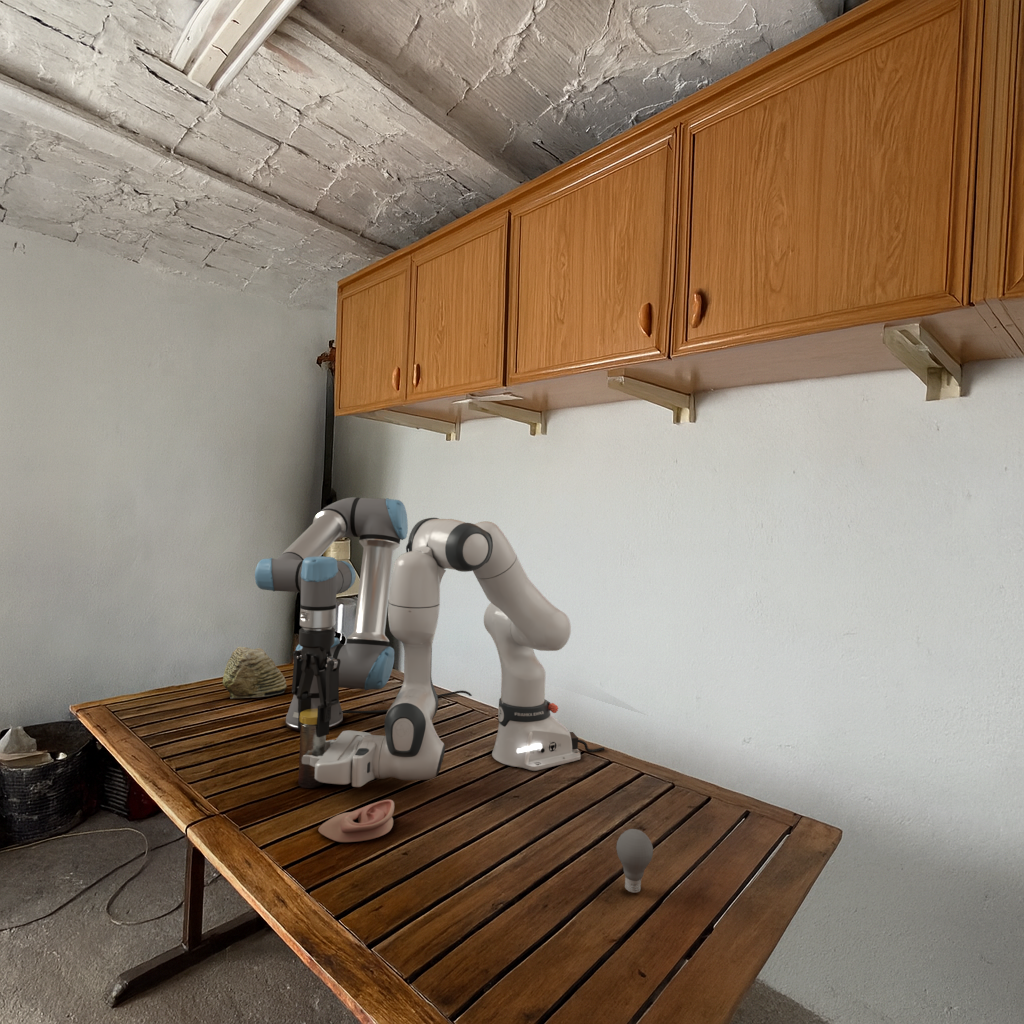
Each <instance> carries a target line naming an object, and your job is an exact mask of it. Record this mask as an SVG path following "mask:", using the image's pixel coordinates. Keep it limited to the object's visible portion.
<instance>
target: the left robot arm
mask: <svg viewBox="0 0 1024 1024" xmlns="http://www.w3.org/2000/svg"><path fill="white" fill-rule="evenodd" d="M312 520H313V521H312V524H311V525H309V526H308V528H306V529H305V530H304V531H303V532H302V533H301V534H300V535H299V536H298V537H297V538H296V539H295V540H294V541H293V542H292V543H291V544H290V545H289V546H288V547H287V548H286V549H285V550H284V551H283V552H281V554H280V555H279V556H277V558H273V557H270V558H262V559H260V560H259V561H258V563H257V564H256V567H255V571H254V580H255V584H256V586H257V588H259V589H260V590H263V591H271V592H272V591H273V592H288V593H300V605H299V606H300V612H299V626H300V629H299V630H298V644H297V645H296V647H295V650H293V651H292V659H293V667H292V668H293V669H292V681H291V682H292V683H291V694H292V696H293V697H292V699H291V702H290V704H289V708H288V711H287V713H286V715H285V726H286V728H287V729H289V730H291V731H294V732H295V731H296V732H300V730H301V722H300V720H299V716H300V713H301V712H302V711H304V710H307V709H318V713H317V737H322V736H325V735H326V736H327V735H330V730H332V729H335V728H337V727H339V726H340V725H342V723H343V722H344V714H382V713H387V712H388V710H389V708H388V709H377V710H343V709H342V706H341V702H340V689H355V690H356V689H357V690H365V691H370V690H382V689H383V688H384V687H385V686H386V685H387V684H388V682H389V680H390V677H391V675H392V672H393V668H394V663H395V649H394V648H393V647H392V646H390V640H389V638H388V637H387V636H386V625H387V617H388V600H389V589H390V582H391V576H392V572H393V562H394V561H393V560H394V552H395V551H396V550H397V549H398V548H399V547H400V545H401V541H403V540H406V539H407V537H408V531H409V527H408V526H409V523H408V513H407V510H406V507H405V504H404V502H403V501H401V500H400V499H395V498H393V499H392V498H388V497H385V498H379V497H378V498H374V497H356V496H353V497H346V498H342V499H339V500H337V501H335V502H332V503H330V504H328V505H326V506H324V507H323V508H322V509H321V510H320V511H319V512H317V514H315V516H314V517H313V519H312ZM347 537H349V538H351V537H352V538H353V537H355V538H359V539H358V543H359V544H360V545H361V547H362V549H363V550H362V559H361V566H360V567H361V568H360V576H359V585H358V592H357V601H356V609H355V616H354V617H355V618H354V625H353V631H352V633H351V634H350V635H348V636H347V638H346V643H345V644H341V641H340V639H339V638H338V637H336V628H335V626H336V619H337V618H336V617H337V614H336V613H337V595H340V594H342V593H345V592H346V591H348V590H349V589H351V588H352V587H353V585H354V584H355V582H356V576H357V575H356V569H355V568H354V567H353V566H352V565H353V564H350V562H348V561H346V560H338V559H336V558H335V557H332V556H322V555H324V553H326V551H327V550H328V549H329V548H330V547H331V545H332V544H333V543H334V542H338V541H339V540H341V539H343V538H347ZM457 694H466V695H467V696H469V697H472V696H473V694H472V693H471V692H469V691H467V690H455V691H452V692H446V693H440V694H437V697H438V698H441V697H447V696H453V695H457Z"/></svg>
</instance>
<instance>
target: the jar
mask: <svg viewBox="0 0 1024 1024" xmlns="http://www.w3.org/2000/svg"><path fill="white" fill-rule="evenodd" d="M299 733H300V734H299V735H300V736H299V755H298V756H299V758H298V759H299V760H298V786H299V787H300V788H302V789H315V788H319V787H321V786H322V785H324V783H322V782H319V781H317V780H316V779H315V767H313V766H311V765H307V764H302V757H303V756H304V755H305V754H312V756H316V757H318V756H323V754H324V753H325V752H326V751H325V748H326V741H327V735H325V736H322V737H317V724H315V725H308V724H303V723H301V730H300V731H299Z"/></svg>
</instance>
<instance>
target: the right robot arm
mask: <svg viewBox="0 0 1024 1024" xmlns="http://www.w3.org/2000/svg"><path fill="white" fill-rule="evenodd" d="M405 551H406V552H403V553H402V554H400V555H399V556H398V557H397V558H396V559H395V561H394V564H393V567H392V571H391V580H390V589H389V598H388V607H387V618H388V619H387V620H388V627H389V631H390V633H391V635H392V636H393V637H394V638H395V639H396V640H397V641H399V642H401V644H402V647H403V655H404V656H403V682H402V685H401V687H400V689H399V691H398V693H397V694H396V697H395V699H394V700H393V702H392V704H391V705H390V706H389V708H388V709H389V710H388V712H386V714H385V716H384V723H383V724H384V734H385V735H379V734H378V735H377V734H372V733H370V732H365V731H359V730H350V729H348V730H347V729H346V730H343V731H341V733H340V734H339V735H338V736H337V737H336V739H329V740H326V748H325V753H324V754H323V756H318V757H316V756H312V754H305V755H304V756H303V757H302V764H307V765H311V766H313V767H315V779H316V780H317V781H319V782H322V783H323V784H329V785H330V784H332V785H349V784H351V787H353V788H361V787H363V786H364V785H366V784H368V783H369V782H371V781H373V780H375V779H381V780H382V779H383V780H384V779H388V778H394V779H397V780H400V781H428V780H431V779H432V780H433V779H435V778H436V777H437V776H438V775H439V774H440V771H441V768H442V765H443V761H444V757H445V753H446V745H445V743H444V741H442V740H441V738H440V736H439V735H438V733H437V731H436V729H435V726H434V723H433V719H434V718H435V716H436V714H437V713H438V709H439V697H437V695H438V693H437V691H436V689H435V686H434V684H433V680H432V664H433V663H432V660H433V659H432V658H433V656H432V655H433V642H434V639H435V636H436V633H437V627H438V623H439V616H440V607H441V604H440V603H441V582H442V580H443V577H444V575H445V573H446V571H447V570H446V569H448V570H454V571H458V572H460V573H462V572H464V573H467V572H473V574H474V576H475V578H476V580H477V582H478V584H479V585H480V587H481V589H482V591H483V592H484V595H485V597H486V598H487V600H488V601H489V602H490V603H489V604H488V605H487V607H486V608H485V611H484V614H483V626H484V628H485V630H486V631H487V633H488V634H489V635H490V637H491V638H492V641H493V642H494V645H495V648H496V651H497V654H498V659H499V664H500V672H501V673H500V674H501V675H500V677H501V679H500V681H501V682H500V698H499V699H498V707H497V708H498V709H497V710H498V711H497V721H498V727H497V732H496V738H495V742H494V746H493V749H492V752H491V756H492V758H493V759H494V760H495V761H497V762H498V763H500V764H503V765H506V766H510V767H517V768H522V769H526V770H528V771H533V772H536V771H540V770H545V769H549V768H552V767H556V766H557V767H558V766H561V765H564V764H569V763H573V762H576V761H580V760H581V758H582V756H581V751H580V749H579V744H582V745H583V746H584V749H585V751H587V752H588V753H597V752H601V751H605V747H597V748H594V749H590V748H589V747H588V744H587V742H586V741H584V740H582V739H579V737H578V736H577V735H576V733H574V731H570V730H569V729H568V728H567V727H566V726H565V725H564V724H563V723H562V722H560V720H559V719H557V718H556V717H554V716H553V715H552V714H557V713H558V711H559V705H556V703H554V702H550V701H549V700H547V699H546V677H547V676H546V675H547V674H546V669H545V667H544V666H543V664H542V663H541V661H540V660H539V659H538V657H537V655H536V652H535V650H536V651H541V652H558V651H560V650H562V649H563V648H564V647H565V646H566V645H567V644H568V642H569V640H570V638H571V633H572V624H571V621H570V617H569V616H568V615H567V613H565V612H563V611H562V610H560V609H559V608H558V607H556V606H555V605H554V604H553V603H552V602H551V601H549V600H548V599H547V598H546V596H544V594H543V593H542V592H541V591H540V589H538V587H536V586H535V584H534V583H533V582H532V580H531V579H530V578H529V576H528V574H527V572H526V571H525V569H524V566H523V564H522V563H521V561H520V559H519V557H518V555H517V553H516V551H515V548H514V547H513V545H512V543H511V542H510V541H509V539H508V537H507V536H506V535H505V533H504V532H503V531H502V530H501V528H500V527H499V526H498V524H496V523H494V522H492V521H479V522H476V523H472V522H465V521H463V520H459V519H454V518H438V517H428V518H427V517H426V518H423V519H421V520H419V521H418V522H416V523H415V524H414V526H413V527H412V529H411V531H410V533H409V536H408V539H407V543H406V546H405ZM551 713H552V714H551Z"/></svg>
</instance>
